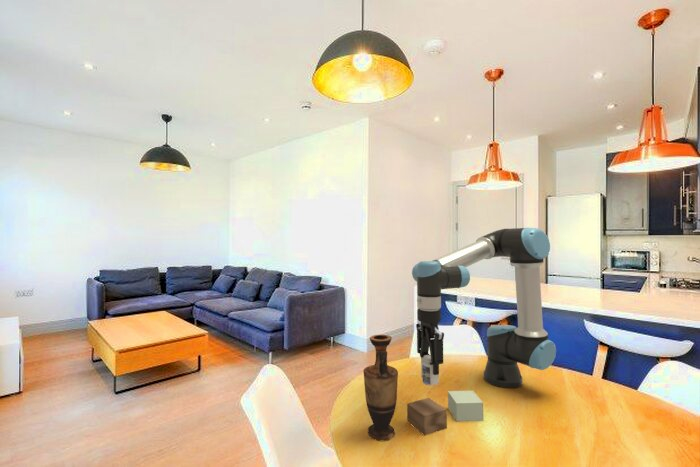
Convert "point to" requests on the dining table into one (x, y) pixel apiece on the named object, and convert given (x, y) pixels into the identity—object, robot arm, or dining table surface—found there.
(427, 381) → the pill bottle
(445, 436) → the dining table surface
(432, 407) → the walnut block
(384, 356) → the vase
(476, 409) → the sage block
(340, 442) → the dining table surface
